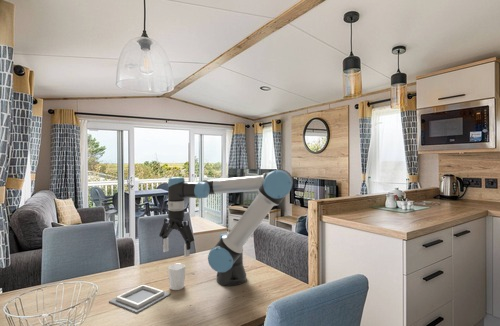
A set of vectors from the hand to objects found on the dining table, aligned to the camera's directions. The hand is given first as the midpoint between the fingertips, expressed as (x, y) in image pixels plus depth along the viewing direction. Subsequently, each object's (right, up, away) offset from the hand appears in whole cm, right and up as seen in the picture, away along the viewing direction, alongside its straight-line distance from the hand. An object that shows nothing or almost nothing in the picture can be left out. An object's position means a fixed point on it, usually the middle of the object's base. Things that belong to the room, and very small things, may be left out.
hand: (176, 253), depth 134 cm
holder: (-13, -16, -11) cm, 23 cm away
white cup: (0, -16, 0) cm, 16 cm away
